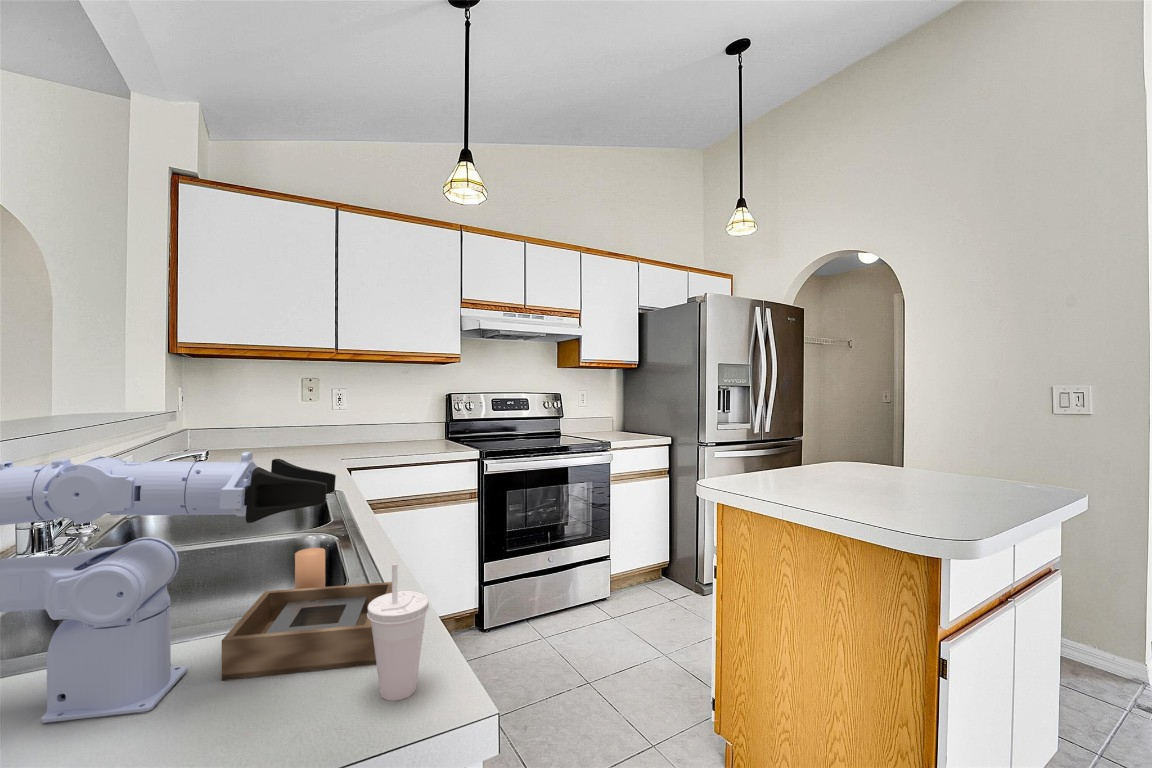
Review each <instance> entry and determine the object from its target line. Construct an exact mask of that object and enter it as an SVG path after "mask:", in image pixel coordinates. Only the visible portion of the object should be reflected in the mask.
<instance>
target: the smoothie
mask: <svg viewBox="0 0 1152 768" xmlns="http://www.w3.org/2000/svg"><path fill="white" fill-rule="evenodd" d="M398 573H399V570H398V563H396V562H395V563H392V564H391V582H392V593H388V594H385V595H382V596H379V597H377V598H375V599H374V600H372V601H371V602H370V603H369V605H368V613H367V617H368V619H369V620H370V621H371V626H372V634H373V641H374V649H375V656H376V664H375V665H376V671H377V677H378V678H377V679H378V685H379V686H378V687H379V694H380V697H381V698H382V699H384V700H386V701H391V702H393V701H401V700H405V699H407V698H409V697H411V696H412V695H413V694H414V693H415V692H416V690H417V684H418V683H417V682H418V678H419V677H418V675H419V669H420V661H421V660H420V659H421V652H422V651H421V650H422V645H423V634H424V630H425V629H424V628H425V622H426V621H425V620H426V614H427V613H428V612H429V609H430V604H429V597H428V596H427V595H425V594H424V593H421V592H418V591H413V590H411V591H410V590H409V591H408V590H403V591H398V575H399V574H398Z"/></svg>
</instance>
